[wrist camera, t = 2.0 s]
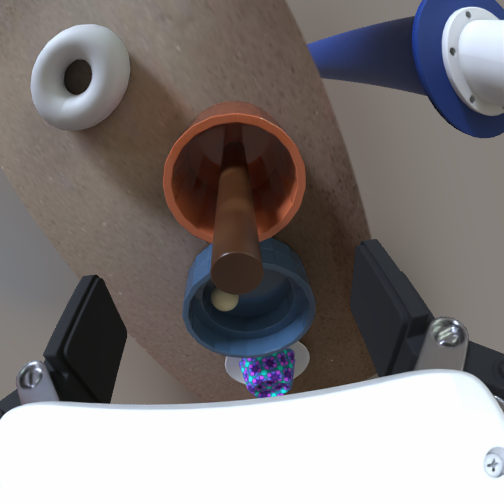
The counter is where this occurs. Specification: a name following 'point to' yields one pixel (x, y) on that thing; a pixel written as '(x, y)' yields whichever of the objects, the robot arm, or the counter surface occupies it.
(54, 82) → the donut
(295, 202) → the crock
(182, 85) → the counter surface
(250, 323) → the bowl
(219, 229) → the stick
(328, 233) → the counter surface
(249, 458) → the robot arm
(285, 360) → the pudding
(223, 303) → the dough ball
